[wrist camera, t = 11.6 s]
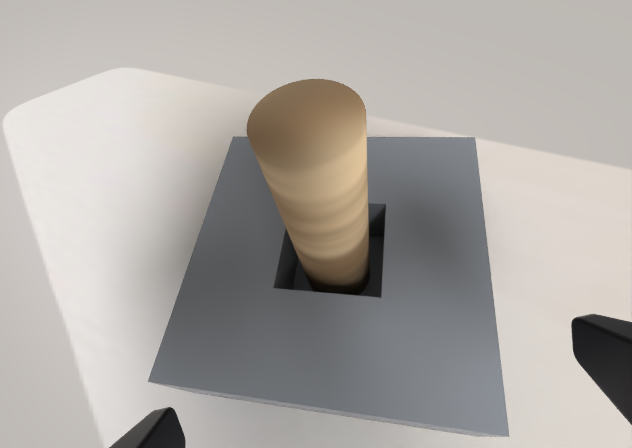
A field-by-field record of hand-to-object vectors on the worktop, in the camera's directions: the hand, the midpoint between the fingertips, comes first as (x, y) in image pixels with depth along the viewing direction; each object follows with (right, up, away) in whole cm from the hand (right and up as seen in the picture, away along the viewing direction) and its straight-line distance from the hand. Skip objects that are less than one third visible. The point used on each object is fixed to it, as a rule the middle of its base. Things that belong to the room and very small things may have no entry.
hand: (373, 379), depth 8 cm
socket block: (0, 0, +16) cm, 16 cm away
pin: (0, 0, +15) cm, 15 cm away
